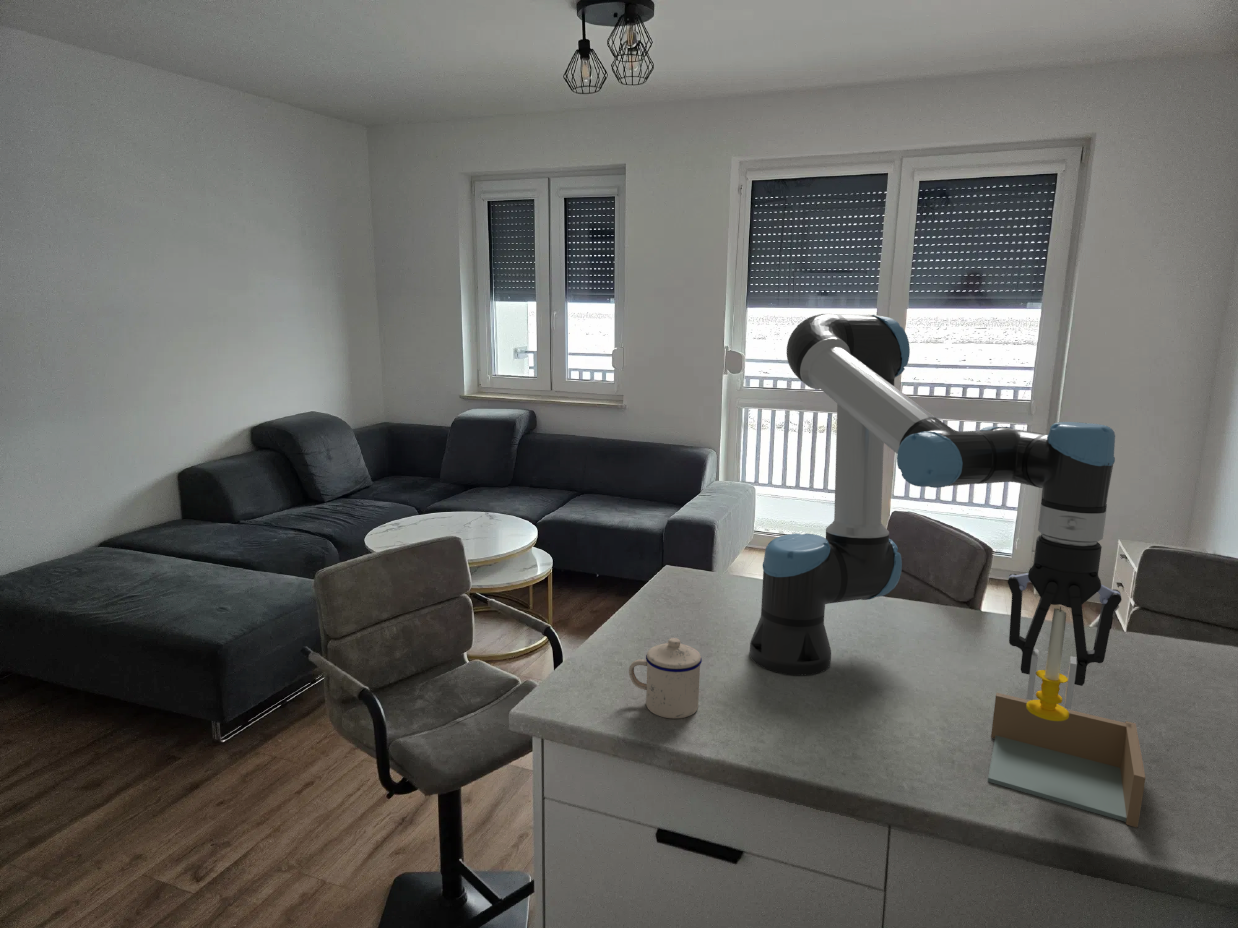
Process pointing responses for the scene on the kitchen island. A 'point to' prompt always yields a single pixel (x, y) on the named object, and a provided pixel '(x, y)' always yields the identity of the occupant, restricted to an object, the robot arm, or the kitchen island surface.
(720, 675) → the kitchen island surface
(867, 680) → the kitchen island surface
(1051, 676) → the candle
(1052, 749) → the open room model
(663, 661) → the teacup with lid
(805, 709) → the kitchen island surface
